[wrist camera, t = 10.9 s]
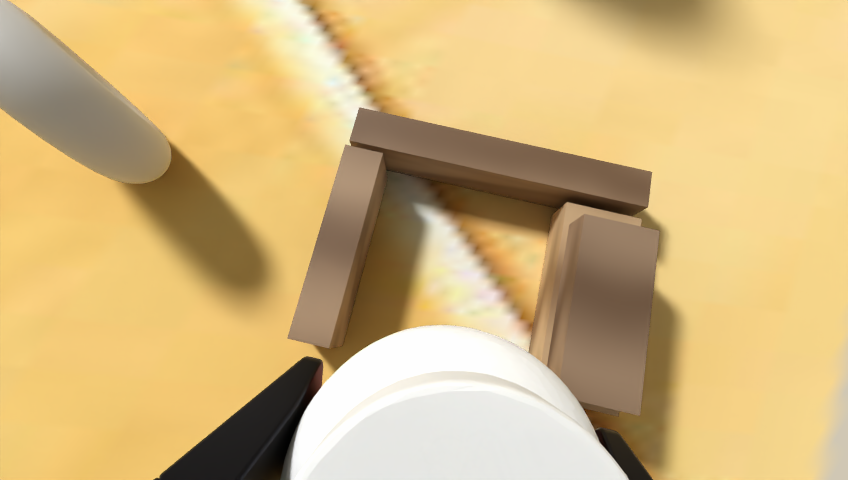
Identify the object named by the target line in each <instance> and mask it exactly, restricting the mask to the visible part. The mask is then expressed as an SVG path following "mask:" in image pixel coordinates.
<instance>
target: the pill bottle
mask: <svg viewBox="0 0 848 480" xmlns="http://www.w3.org/2000/svg"><path fill="white" fill-rule="evenodd" d="M280 480H629V479H628V477H627V475H626V474H625V473H624V471H623V470H622V469H621V468H620V466H619V465H618V464H617V462H616V461H615V460H614V458H613V457H612V456H611V455H610V454H609V453H608V451H607V450H606V449H605V448H604V447H603V446H602V445H601V444H600V442H599V439H598V437H597V435H596V432H595V430H594V428H593V426H592V424H591V422H590V420H589V418H588V417H587V415H586V413H585V411H584V410H583V408H582V407H581V405H580V403H579V402H578V400H577V399H576V398H575V396H574V395H573V394H572V393H571V391H570V390H569V389H568V387H567V386H566V385H565V384H564V383H563V382H562V381H561V379H560V378H559V377H558V376H557V375H556V374H555V373H554V372H553V371H551V370H550V369H549V368H548V367H547V366H546V365H544V364H543V363H542V362H541V361H539V360H538V359H537V358H535V357H534V356H533V355H531V354H530V353H528V352H527V351H526V350H524V349H522V348H521V347H519V346H517V345H515V344H514V343H511V342H509V341H507V340H505V339H503V338H500V337H498V336H496V335H493V334H490V333H486V332H483V331H480V330H477V329H473V328H468V327H461V326H452V325H429V326H420V327H415V328H410V329H405V330H402V331H399V332H396V333H393V334H391V335H388V336H386V337H384V338H382V339H380V340H378V341H376V342H374V343H372V344H370V345H368V346H367V347H365V348H364V349H362V350H361V351H359V352H358V353H357V354H355V355H354V356H353V357H351V358H350V359H349V360H348V361H347V362H345V363H344V364H343V365H342V366H341V367H340V368H339V369H338V370H337V371H336V372H335V373H334V374H333V375H332V376H331V377H330V378H329V379H328V380H327V381H326V382H325V383H324V385H323V386H322V387H321V388H320V390H319V391H318V392H317V394H316V395H315V396H314V398H313V399H312V401H311V402H310V404H309V405H308V407H307V408H306V410H305V412H304V414H303V416H302V417H301V419H300V421H299V423H298V425H297V427H296V429H295V432H294V434H293V437H292V439H291V442H290V444H289V447H288V450H287V453H286V457H285V460H284V464H283V469H282V474H281V478H280Z"/></svg>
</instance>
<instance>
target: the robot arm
mask: <svg viewBox="0 0 848 480" xmlns="http://www.w3.org/2000/svg"><path fill="white" fill-rule="evenodd" d="M322 375H323V361H322V360H320V359H317V358H313V357H308V356H306V357H304V358H302V359H301V360H300V361H298V362H297V363H296V364H295V365H294V366H292V367H291V368H290V369H289V370H287V371H286V372H285V373H284V374H283V375H281V376H280V377H279V378H278V379H276V380H275V381H274V382H273V383H272V384H270V385H269V386H268V387H267V388H265V389H264V390H263V391H262V392H261V393H259V394H258V395H257V396H256V397H254V398H253V399H252V400H251V401H250V402H248V403H247V404H246V405H245V406H243V407H242V408H241V409H240V410H239V411H237V412H236V413H235V414H234V415H232V416H231V417H230V418H229V419H228V420H226V421H225V422H224V423H223V424H221V425H220V426H219V427H218V428H217V429H215V430H214V431H213V432H212V433H210V434H209V435H208V436H207V437H206V438H204V439H203V440H202V441H201V442H199V443H198V444H197V445H196V446H195V447H193V448H192V449H191V450H190V451H188V452H187V453H186V454H185V455H184V456H182V457H181V458H180V459H179V460H177V461H176V462H175V463H174V464H173V465H171V466H170V467H169V468H168V469H166V470H165V471H164V472H163V473H162V474H161V475H160V478H155V479H154V480H280V478H281V474H282V469H283V464H284V460H285V457H286V453H287V450H288V447H289V444H290V442H291V439H292V437H293V434H294V432H295V429H296V427H297V425H298V423H299V421H300V419H301V417H302V416H303V414H304V412H305V410H306V408H307V407H308V405H309V404H310V402H311V401H312V399H313V398H314V396H315V395H316V394H317V392H318V391H319V390H320V388H321V386H322ZM595 432H596V435H597V437H598V439H599V442H600V444H601V445H602V446H603V447H604V448H605V449H606V450H607V451H608V453H609V454H610V455H611V456H612V457H613V458H614V460H615V461H616V462H617V464H618V465H619V466H620V468H621V469H622V470H623V471H624V473H625V474H626V475H627V477H628V479H629V480H653V479H652V477H651V476H650V475H649V473H648V472H647V470H646V469H645V468H644V466H643V465H642V464H641V462H640V461H639V459H638V458H637V457H636V455H635V454H634V453H633V451H632V450H631V448H630V447H629V446H628V444H627V443H626V442H625V440H624V439H623V437H622V436H621V435H620V434H619V433H618V432H617V431H614V430H610V429H606V428H602V427H599V428H597V429H596V430H595Z"/></svg>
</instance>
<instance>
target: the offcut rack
mask: <svg viewBox="0 0 848 480" xmlns="http://www.w3.org/2000/svg"><path fill="white" fill-rule="evenodd" d="M350 143H351V146H349V145H345V148H344V151H343V154H342V158H341V161H340V164H339V168H338V171H337V174H336V178H335V181H334V184H333V188H332V191H331V194H330V198H329V201H328V204H327V208H326V211H325V214H324V218H323V221H322V224H321V228H320V231H319V234H318V238H317V241H316V244H315V248H314V251H313V254H312V258H311V261H310V264H309V268H308V271H307V274H306V278H305V281H304V284H303V288H302V291H301V294H300V298H299V301H298V304H297V308H296V311H295V314H294V318H293V321H292V325H291V328H290V331H289V335H288V339H292V340H296V341H300V342H304V343H309V344H313V345H317V346H321V347H325V348H334V347H339V346H343V342H344V339H345V335H346V331H347V328H348V324H349V320H350V316H351V313H352V309H353V305H354V302H355V298H356V294H357V290H358V287H359V283H360V279H361V276H362V272H363V268H364V264H365V261H366V257H367V253H368V249H369V246H370V242H371V238H372V235H373V231H374V227H375V223H376V220H377V216H378V212H379V209H380V205H381V201H382V197H383V194H384V190H385V186H386V183H387V179H388V177H387V172H386V170H390V171H394V172H398V173H403V174H407V175H412V176H416V177H421V178H425V179H430V180H434V181H438V182H443V183H447V184H452V185H456V186H461V187H465V188H469V189H474V190H478V191H483V192H487V193H492V194H496V195H500V196H505V197H509V198H514V199H518V200H523V201H527V202H532V203H536V204H540V205H545V206H549V207H554V208H558V210H557V211H556V212H555V213H554V214H553V215H552V217H551V223H550V229H549V235H548V241H547V247H546V252H545V258H544V264H543V270H542V276H541V282H540V288H539V294H538V300H537V306H536V312H535V318H534V323H533V329H532V335H531V341H530V347H529V353H530V354H531V355H533V356H534V357H535V358H537V359H538V360H539V361H541V362H542V363H543V364H544V365H546V366H547V367H548V368H549V369H550V370H551V371H553V372H554V373H555V374H556V375H557V376H558V377H559V378H560V379H561V381H562V382H563V383H564V384H565V385H566V386H567V387H568V389H569V390H570V391H571V393H572V394H573V395H574V396H575V398H576V399H577V400H578V402H579V403H580V405H581V407H582V408H585V409H589V410H593V411H597V412H601V413H606V414H610V415H614V416H618V417H619V411H622V412H626V413H630V414H634V415H638V416H640V412H641V402H642V393H643V383H644V374H645V364H646V355H647V346H648V336H649V327H650V317H651V308H652V298H653V289H654V280H655V270H656V261H657V251H658V242H659V232H660V231H659V230H654V229H650V228H645V227H641V221H642V219H640V218H636V217H631V216H633V215H634V214H636V213H638V212H640V211H642V210H644V209H646V208H648V203H649V194H650V185H651V177H652V172H650V171H645V170H641V169H636V168H631V167H627V166H622V165H618V164H613V163H609V162H604V161H600V160H595V159H591V158H586V157H582V156H577V155H573V154H568V153H563V152H559V151H554V150H550V149H545V148H541V147H536V146H532V145H527V144H523V143H518V142H514V141H509V140H505V139H500V138H495V137H491V136H486V135H482V134H477V133H473V132H468V131H464V130H459V129H455V128H450V127H446V126H441V125H437V124H432V123H427V122H423V121H418V120H414V119H409V118H405V117H400V116H396V115H391V114H387V113H382V112H378V111H373V110H369V109H364V108H359V110H358V114H357V117H356V120H355V124H354V127H353V130H352V134H351V137H350Z"/></svg>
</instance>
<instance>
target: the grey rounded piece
mask: <svg viewBox="0 0 848 480" xmlns="http://www.w3.org/2000/svg"><path fill="white" fill-rule="evenodd" d="M0 108H1V109H2V110H4V111H5V112H6V113H7V114H9V115H10V116H11V117H13V118H14V119H15V120H17V121H18V122H19V123H21V124H22V125H24V126H25V127H26V128H28V129H29V130H30V131H32V132H33V133H35V134H36V135H37V136H39V137H40V138H41V139H43V140H44V141H46V142H48V143H49V144H51V145H52V146H54V147H55V148H57V149H58V150H60V151H61V152H63V153H64V154H66V155H67V156H69V157H70V158H72V159H74V160H75V161H77V162H79V163H81V164H82V165H84V166H86V167H88V168H89V169H91V170H93V171H94V172H97V173H99V174H101V175H103V176H105V177H108V178H110V179H113V180H116V181H120V182H123V183H132V184H144V183H147V182H151V181H154V180H156V179H158V178H159V177H161V176H162V175H163V174H164V173H165V172H166V170H167V169H168V168H169V165H170V162H171V148H170V146H169V143H168V141H167V139H166V137H165V136H164V135H163V133H162V132H161V131H160V130H159V129H158V128H157V127H156V126H155V125H154V124H153V123H152V122H151V121H150V120H149V119H148V118H147V117H146V116H145V115H144V114H143V113H142V112H141V111H140V110H139V109H137V108H136V107H135V106H134V105H133V104H132V103H131V102H130V101H129V100H128V99H127V98H125V97H124V96H123V95H122V94H121V93H120V92H119V91H118V90H117V89H115V88H114V87H113V86H112V85H111V84H110V83H109V82H108V81H106V80H105V79H104V78H103V77H102V76H101V75H100V74H98V73H97V72H96V71H95V70H94V69H93V68H92V67H91V66H89V65H88V64H87V63H86V62H85V61H84V60H82V59H81V58H80V57H79V56H78V55H77V54H76V53H74V52H73V51H72V50H71V49H70V48H69V47H67V46H66V45H65V44H64V43H63V42H61V41H60V40H59V39H58V38H57V37H56V36H54V35H53V34H52V33H51V32H50V31H48V30H47V29H46V28H45V27H44V26H42V25H41V24H40V23H39V22H37V21H36V20H35V19H34V18H32V17H31V16H30V15H28V14H27V13H26V12H24V11H23V10H21V9H20V8H19V7H17V6H16V5H14V4H13V3H11V2H10V1H7V0H0Z"/></svg>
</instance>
